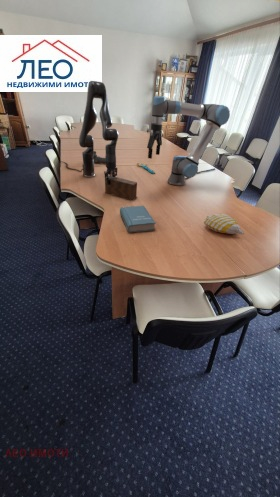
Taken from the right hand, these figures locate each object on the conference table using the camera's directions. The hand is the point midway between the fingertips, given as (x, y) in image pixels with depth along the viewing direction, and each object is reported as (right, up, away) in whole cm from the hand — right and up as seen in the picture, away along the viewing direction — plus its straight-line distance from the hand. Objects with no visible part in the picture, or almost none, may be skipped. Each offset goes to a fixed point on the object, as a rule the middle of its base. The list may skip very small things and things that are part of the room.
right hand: (153, 156), depth 163 cm
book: (-12, -52, -26) cm, 59 cm away
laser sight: (-56, +22, +70) cm, 92 cm away
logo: (-3, +14, +65) cm, 66 cm away
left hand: (-32, -19, +4) cm, 37 cm away
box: (-25, -27, +6) cm, 38 cm away
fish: (+41, -57, -27) cm, 75 cm away
